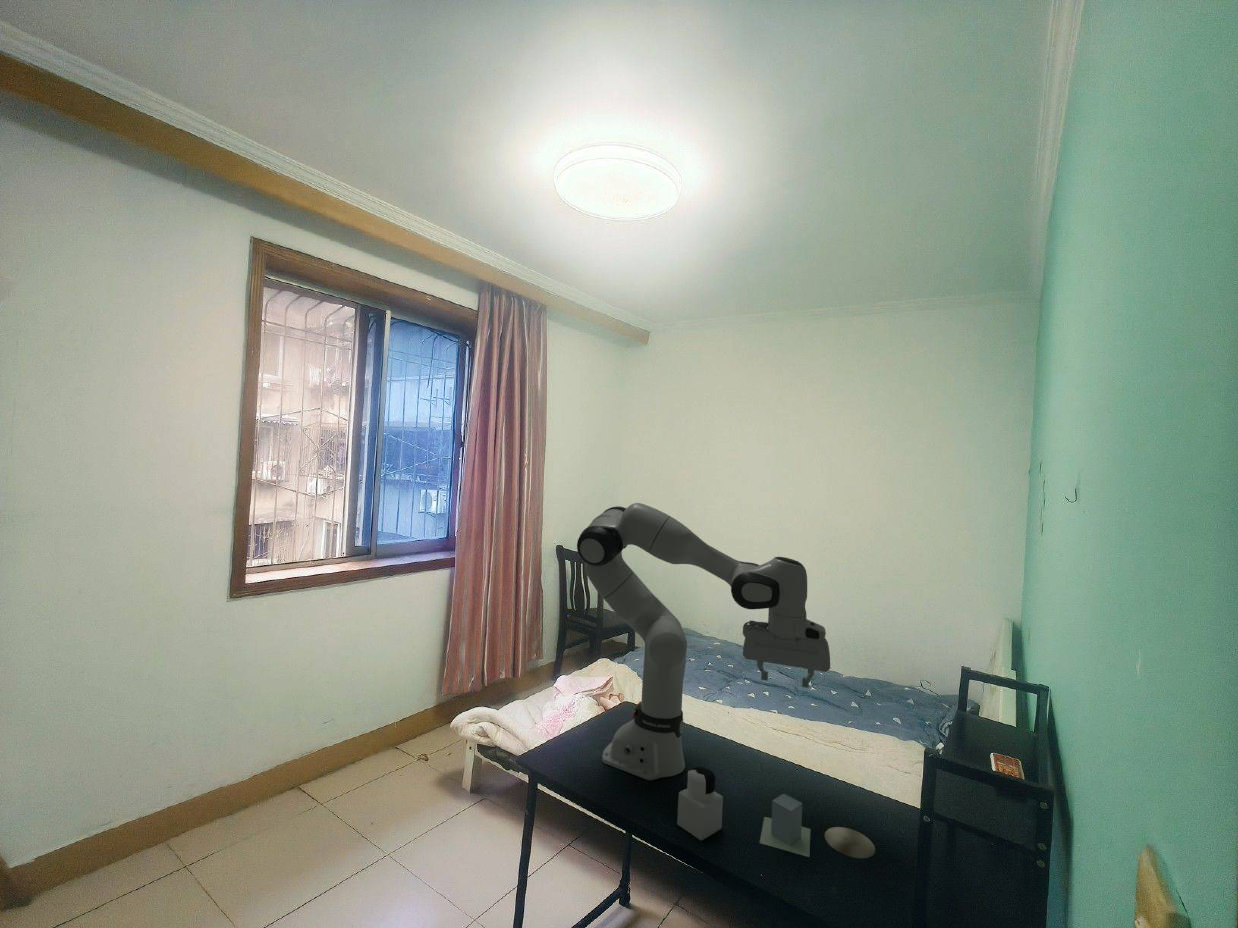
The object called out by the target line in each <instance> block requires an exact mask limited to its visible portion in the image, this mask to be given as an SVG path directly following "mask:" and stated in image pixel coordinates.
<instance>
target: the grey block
mask: <svg viewBox="0 0 1238 928" xmlns="http://www.w3.org/2000/svg"><path fill="white" fill-rule="evenodd" d="M771 819H772V820H771V835H773V836H774V837H776V838H778V839H779V840H781V841H783V842H784V843H786V844H788V845H792V844H793V843H794V842H796V841H797V840H798V839H799V838H801V826H802V827H803V825H802V822H803V821H802V820H803V802H800V801H798V800H797V799H796V798H793V797H791V796H789V795H788V794H785V793H782V794H780V795H779V796H778V797H776V798H774V799H773V800H771Z"/></svg>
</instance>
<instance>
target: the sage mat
mask: <svg viewBox="0 0 1238 928" xmlns="http://www.w3.org/2000/svg"><path fill="white" fill-rule="evenodd" d="M771 820H772V817H766V816H764V817H763V821H762V829H761V832H760V838H759V844H761V845H765V846H769V847H771V848H776V849H779V850H782V851H786V852H790V853H793V854H798V855H799V856H804V857H807V858H810V851H811V850H810V847H811V828H809V827H804V826H803V825H802V826H801V838H799V839H798V840H797V841H796V842H794V843H793V844H792V845H788V844H786V843H784V842H783V841H781V840H779V839H778V838H776V837H774V836H773V835H771Z"/></svg>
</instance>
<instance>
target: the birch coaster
mask: <svg viewBox="0 0 1238 928" xmlns="http://www.w3.org/2000/svg"><path fill="white" fill-rule="evenodd" d="M824 838H825V841H826V842H827V844H828V845H829V846H830V847H831V848H832V849H834V850H836V851H837V852H839V853H840V854H843V855H845V856H847V857H850V858H855V859H868V858H870V857H873V856H874V855H875V853H876V848H875V844H874V843H873V842H872V840H871V839H869V838H868V837H867V836H866V835H864V834H862V833H861V832H858V831H857V830H854V829H851V828H849V827H848V828H847V827H842V826H836V827H835V826H834V827H830V828H828V829H827V830H826V831H825V832H824Z"/></svg>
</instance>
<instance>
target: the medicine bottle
mask: <svg viewBox="0 0 1238 928" xmlns="http://www.w3.org/2000/svg"><path fill="white" fill-rule="evenodd" d="M686 785H687V788H685V789H683V790H680V791H679V792H678V795H677V796H678V799H677V801H678V802H677V818H676V819H677V820H676V821H677V823H676V824H677V825H678V827H680V828H682V829H683V830H685V831H686V832H687V833H689V834H690V833H691V835H692V836H693V837H695V838H696V839H697V840H699V841H703V840H705V839H707V838H709V837H710V836H711V835H714V834H715V833H717V832H719V831H720V830H721V829H722V828H723V827H722V826H723V803H724V801H723V799H724V796H722V794H719V793H718V792H716V791H715V790H716V775H715V773H714V771H712V770H711V769H709V768H706V767H702V766H695V767H692V768H690V769H689V770H688V772H687V784H686Z"/></svg>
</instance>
